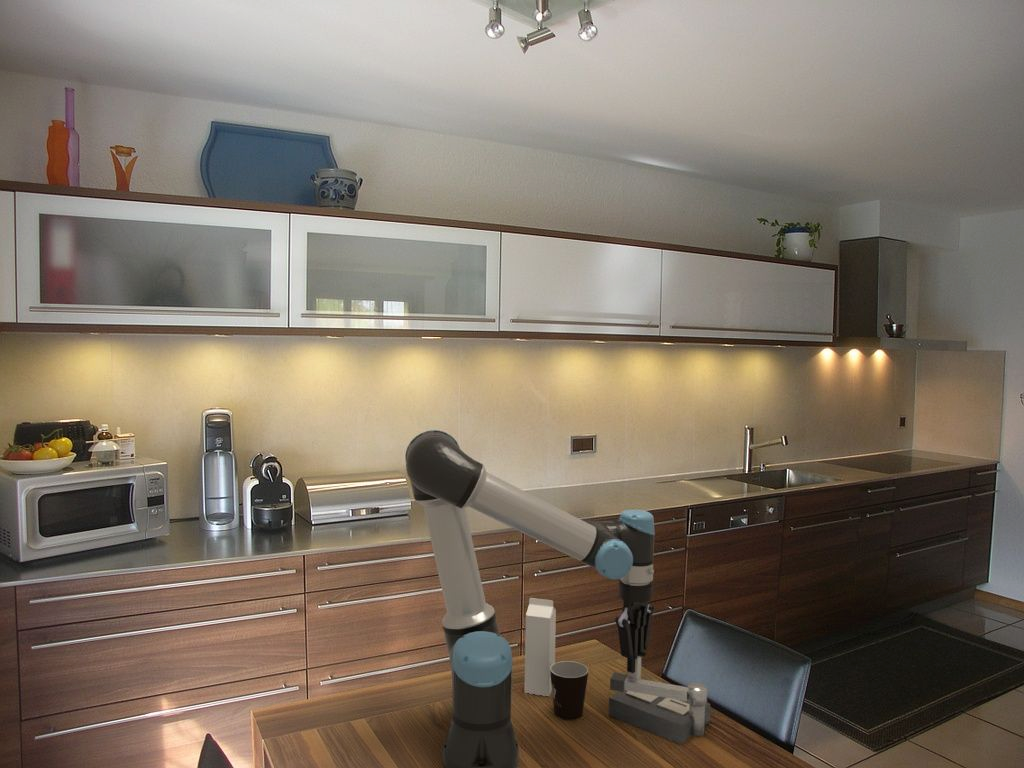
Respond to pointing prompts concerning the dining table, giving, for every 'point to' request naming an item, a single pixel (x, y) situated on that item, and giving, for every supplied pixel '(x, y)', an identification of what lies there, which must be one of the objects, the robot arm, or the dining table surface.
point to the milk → (539, 646)
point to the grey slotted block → (660, 715)
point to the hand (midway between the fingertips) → (633, 684)
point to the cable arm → (660, 689)
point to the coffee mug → (568, 688)
